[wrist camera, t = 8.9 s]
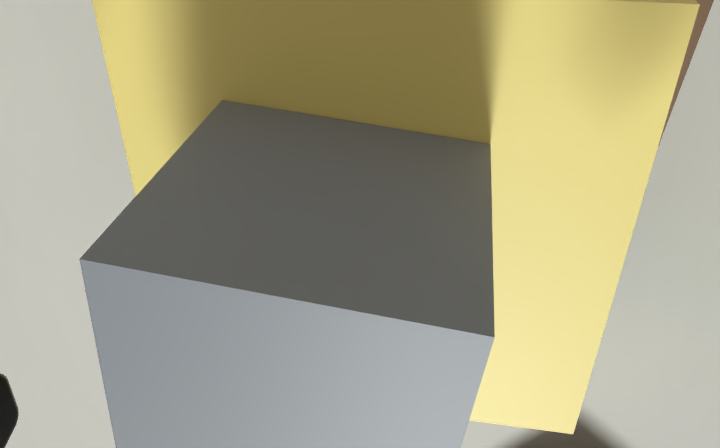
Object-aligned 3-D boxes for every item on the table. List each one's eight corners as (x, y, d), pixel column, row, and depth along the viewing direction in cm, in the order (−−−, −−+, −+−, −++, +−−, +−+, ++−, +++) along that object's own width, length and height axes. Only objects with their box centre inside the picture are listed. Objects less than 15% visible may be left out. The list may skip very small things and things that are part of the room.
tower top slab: (643, -45, 13) (699, 4, 10) (556, 322, 18) (573, 434, 15) (179, -62, 14) (87, -23, 11) (228, 286, 20) (176, 382, 16)
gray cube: (490, 144, 11) (494, 336, 7) (442, 342, 14) (425, 563, 10) (222, 100, 12) (79, 259, 8) (227, 302, 14) (125, 497, 10)
